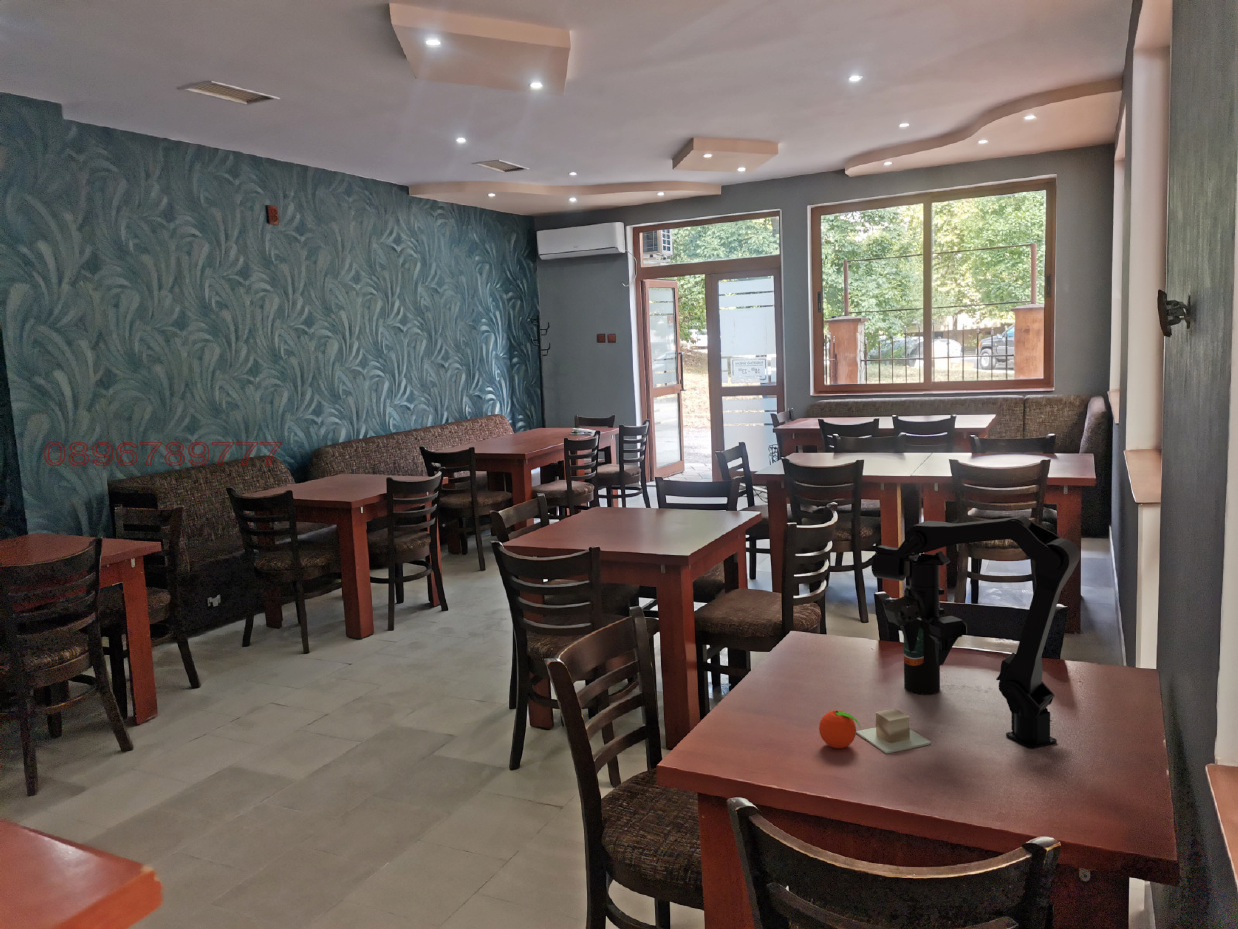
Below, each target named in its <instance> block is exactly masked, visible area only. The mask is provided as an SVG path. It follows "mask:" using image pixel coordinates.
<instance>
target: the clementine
mask: <svg viewBox="0 0 1238 929" xmlns="http://www.w3.org/2000/svg"><path fill="white" fill-rule="evenodd" d="M855 723H857V724H858V725H859V728H860V729H861V724H860V722H858V720H857V719H856V718H855V717H854V716H852V715H851V714H850V713H847V712H844V711H843V710H836V709H835V710H831V711H828V712H826V713H825V714H824V715H823V716H822V717H821V720H820V722H819V725H818V729H819V735H820V737H821V739H822V740H823V742H824V743H825V744H826V745H828V746H829V747H832V748H833V749H844V748H846V747H848V746H850V745H851V744H852V743H853V742H854V740H855V737H856V735H857V734H856V731H857V726H856V724H855Z"/></svg>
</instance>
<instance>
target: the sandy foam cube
mask: <svg viewBox="0 0 1238 929" xmlns="http://www.w3.org/2000/svg"><path fill="white" fill-rule="evenodd" d="M910 721H911V720H910V716H909V715H908V714H906V713H904V712H902V711H901V710H899V709H897V708H891V709H885V710H880V711H876V712H875V727H876V735H878V736H879V737H881V738H883V739H884V740H886V741H887V742H889V743H894V742H899V741H903V740H908V739H910V730H911V728H910V727H911V726H910V725H911V724H910Z"/></svg>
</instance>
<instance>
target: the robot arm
mask: <svg viewBox="0 0 1238 929" xmlns="http://www.w3.org/2000/svg"><path fill="white" fill-rule="evenodd" d="M1002 540H1003V541H1004V540H1011V541H1013V542H1014V543H1015V544H1016V545H1017V547H1019V549H1021V550H1022V553H1024V554H1025V555H1026V556H1027V557H1029V558H1030V559H1031V560H1033V561H1034V572H1033V573H1034V579H1035V582H1034V583H1035V588H1034V591H1033V594H1032V598H1031V602H1030V606H1029V609H1028V610H1027V611H1028V612H1027V616H1026V619H1025V623H1024V625H1023V629H1022V632H1021V636H1020V639H1019V643H1018V646H1017V650H1016V653H1015V652H1011V653H1010V654H1009V655H1008V656H1006V657H1005V658H1004V659H1003V660H1002V661H1001V664H1000V672H999V674H998V676H997V677H996V679H995V680H996V681H998V690H999V692H1000V693H1001V695H1002V696H1003V698H1004V699H1005V701H1006V703H1007V705H1008V706H1007V707H1008V708H1009V709H1008V710H1009V711H1010V713H1011V731H1008V732H1006V733H1005V736H1006V737H1008V738H1010V739H1012V740H1013V741H1014V742H1017V743H1019V744H1021V745H1023V746H1025V747H1026V748H1028V749H1034V748H1037V747H1043V746H1046V745H1052V744H1055V743H1057V742H1058V741H1057V740H1058V739H1056V738H1055V737H1053V736H1051V711H1048V707H1049V706H1050V705H1051V704H1052V702H1053V701H1054V698H1055V694H1054V692H1053V691H1052V690H1051V689H1050V688H1049V687H1048V686H1047V685H1046V684H1045V683H1044V682H1043V681H1042V680H1043V673H1044V672H1043V668H1044V666H1043V662H1042V661H1043V660H1042V655H1043V652H1044V648H1045V646H1046V642H1047V639H1048V636H1049V635H1048V634H1049V631H1050V629H1051V625H1052V622H1053V619H1054V616H1055V612H1056V609H1057V605H1058V603H1059V600H1060V595H1061V592H1062V591H1063V588H1064V586H1065V585H1066V583H1067V582H1068V580H1069V579H1070V577H1071V576H1072V574H1073V572H1074V570H1075V569H1076V567H1077V566H1078V563H1079V561H1080V558H1081V551H1080V549H1079V548H1078V546H1077V544H1076V543H1075V542H1073V541H1072V540H1070V539H1067V538H1062V537H1060V536H1058V535H1057V534H1056V533H1054V532H1053V531H1051V530H1048V529H1046V528H1045V527H1042V526H1041V525H1039V524H1037V523H1035V522H1034V521H1033V520H1031V519H1029V518H1028V517H1026V516H1024V515H1016V516H1013V517H1007V518H997V519H989V520H987V519H986V520H978V521H970V522H961V523H960V522H959V523H954V522H948V521H947V522H946V521H938V520H925V521H922V522H919V523H917V524H913V525H911V526H910V527H908V528H907V530H906V532H905V535H904V541H903V542H902V543H901V544H900V546H899V547H894V546H893V547H892V546H888V545H883V544H881V545H878V546H876V549H875V550H876V552H875V553H874V556H873V558H872V563H870V564H871V573H872V575H873V577H875V578H878V579H886V580H893V581H899V582H900V581H902V582H903V581H905V579H906V578H907V577H909V586H908V587H904V588H905V589H904V591H903V592H904V593H903V596H901V597H898V598H896V599H895V600H889V602H888V603H887V604H886V605H885V606H883V610H884V612H885V615H886V618H887V621H888V622H889V623H893V624H895V625H896V626H898V627H899V628H900V630H901V632H902V635H903V640H904V639H905V642H906V644H907V647H908V650H909V651H910V652H913V651H914V650H915V646H916V642H917V637H918V632H919V627H920V622H921V621H923V622H926V623H928V624H929V629H930V631H931V633H932V634H929V636H930V637H931V638H932V639H933V640H934V641H935V650H936V660H937V665H940V666H943V665H944V664H945V662H946V659H947V658H948V656H949V654H950V652H951V650H952V648H953V646H954V645H955V643H956V642H957V640H958V639H959V638H961V637H963V635H967V634H968V624H967V623H966V621H964V620H963V619H962V618H958V617H956V616H954V615H948V616H943V615H945V608H943V607H941V606H940V604H941V598H940V597H941V596H942V595H945V589H944V588H941V587H940V583H941V582H940V566H941V567H943V566H945V565H947V564H949V563H951V558H949V557H948V556H947V555H945V554H944V552H943V551H941V550H940V551H938V552H935V553H934V554H933V553H928V552H932V551H935V550H939V549H942V548H945V547H949V546H952V545H959V544H970V543H980V542H981V543H982V542H992V541H1002ZM913 554H918V555H919V557H918V556H915V555H913ZM940 615H942V616H941V617H940Z"/></svg>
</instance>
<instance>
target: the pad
mask: <svg viewBox="0 0 1238 929" xmlns="http://www.w3.org/2000/svg"><path fill="white" fill-rule="evenodd" d="M856 735H857V736H859V737H861V738H862V739H863V740H865V739H866V740H865V741H867V743H870V744H871V745H872V746H873V747H875V748H877V749H878V750H879V751H881V752H883V753H884V754H891V753H896V752H901V751H906V750H909V749H915V748H919V747H924V746H928V745H929V746H930V745H932V741H930V740H929V739H927V738H925V737H924V736H922V735H920V734H918V732H915V731H914V730H912V729H910V739H908V740H903V741H899V742H894V743H889V742H887V741H886V740H884V739H883V738H881V737H879V736H878V735H876V726H875V727H870V728H866V729H860V730H856Z"/></svg>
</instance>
